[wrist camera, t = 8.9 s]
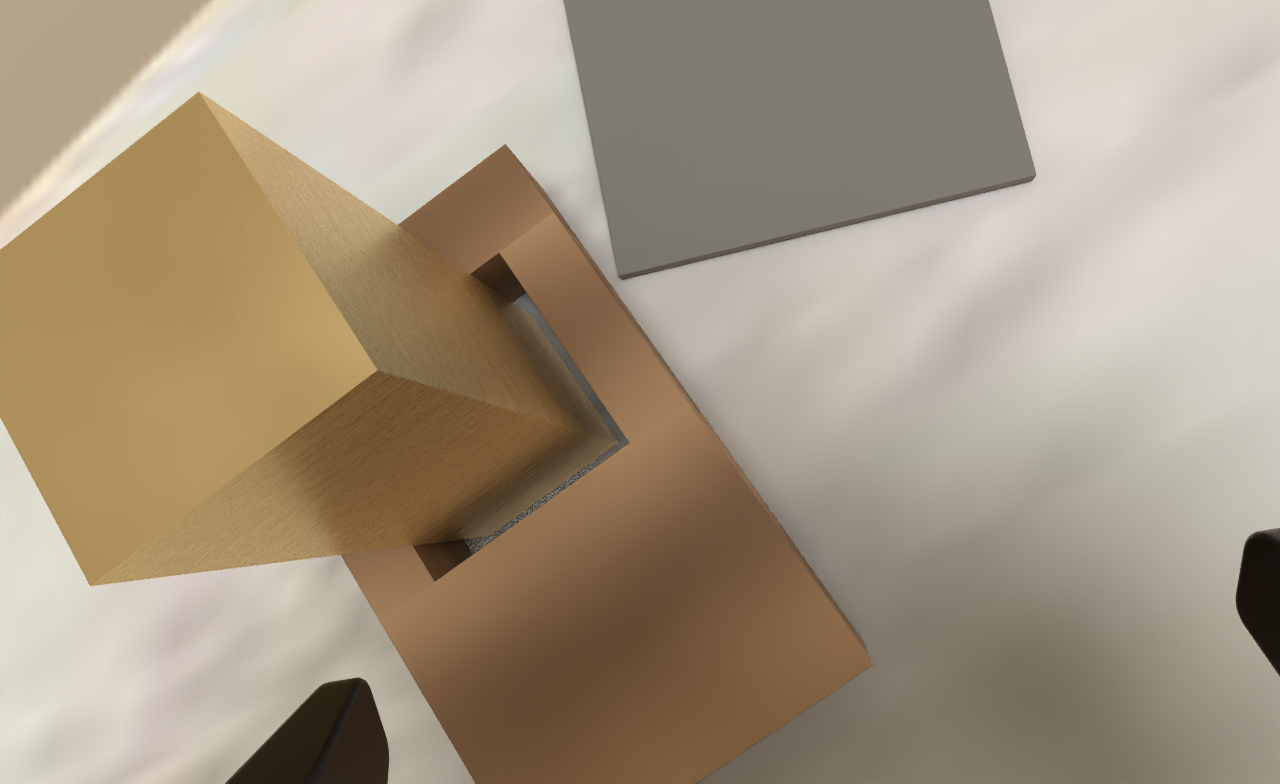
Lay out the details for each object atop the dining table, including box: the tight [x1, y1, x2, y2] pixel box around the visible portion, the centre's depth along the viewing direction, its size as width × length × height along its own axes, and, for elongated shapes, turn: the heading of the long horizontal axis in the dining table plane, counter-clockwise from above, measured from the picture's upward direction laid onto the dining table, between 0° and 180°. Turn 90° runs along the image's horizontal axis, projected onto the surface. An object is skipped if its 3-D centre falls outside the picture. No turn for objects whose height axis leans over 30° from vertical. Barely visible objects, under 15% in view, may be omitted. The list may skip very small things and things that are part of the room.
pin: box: [0, 92, 619, 586], centre depth 17 cm, size 4×4×13 cm
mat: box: [564, 0, 1036, 279], centre depth 23 cm, size 10×10×1 cm
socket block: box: [341, 144, 873, 784], centre depth 21 cm, size 14×8×3 cm, turn 35°
